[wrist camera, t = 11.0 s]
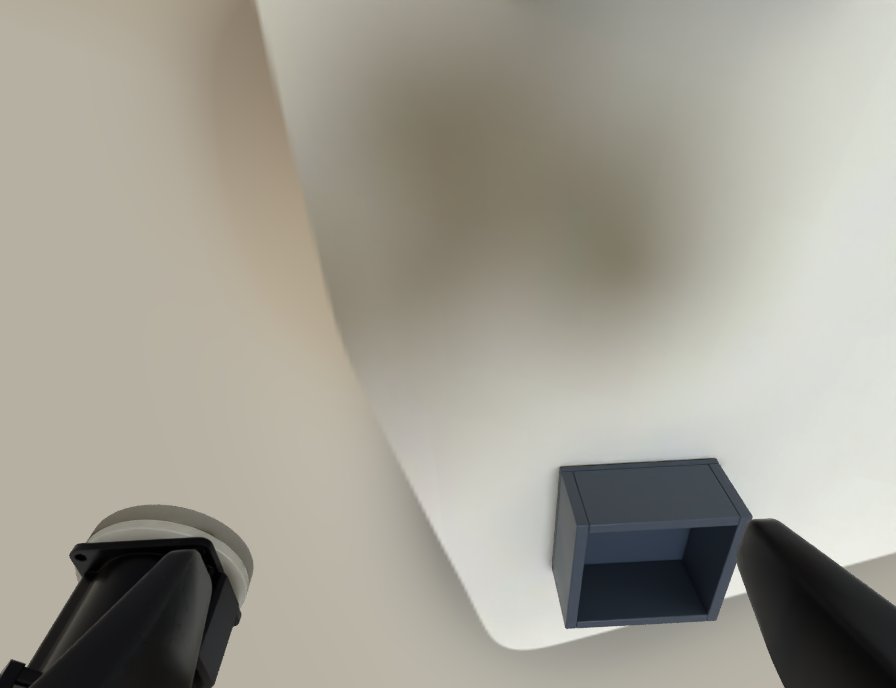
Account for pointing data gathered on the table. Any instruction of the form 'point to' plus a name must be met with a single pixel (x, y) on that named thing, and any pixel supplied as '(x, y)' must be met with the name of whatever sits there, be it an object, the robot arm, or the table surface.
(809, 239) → the table surface
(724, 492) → the tote
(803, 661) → the robot arm
